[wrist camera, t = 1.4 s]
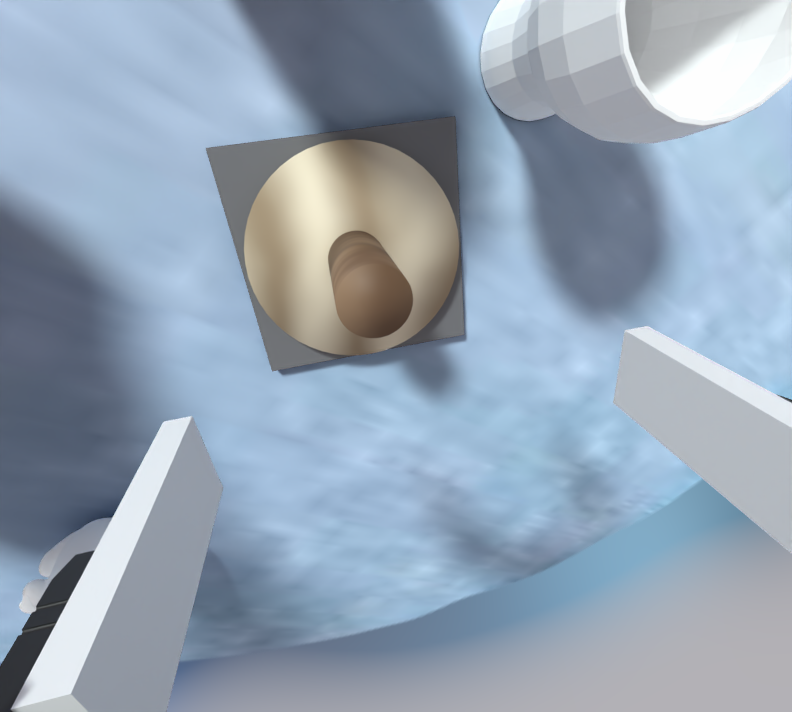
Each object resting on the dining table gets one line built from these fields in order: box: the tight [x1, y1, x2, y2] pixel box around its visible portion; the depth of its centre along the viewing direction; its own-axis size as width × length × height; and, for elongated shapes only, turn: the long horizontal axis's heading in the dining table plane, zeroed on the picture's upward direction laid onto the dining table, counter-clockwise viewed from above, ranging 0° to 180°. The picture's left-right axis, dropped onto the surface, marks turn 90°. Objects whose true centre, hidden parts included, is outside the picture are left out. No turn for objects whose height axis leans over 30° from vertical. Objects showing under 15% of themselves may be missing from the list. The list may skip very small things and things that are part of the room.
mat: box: [206, 116, 464, 371], centre depth 30 cm, size 16×16×1 cm
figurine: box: [19, 518, 112, 614], centre depth 34 cm, size 10×10×12 cm
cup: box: [480, 0, 792, 143], centre depth 21 cm, size 11×11×15 cm
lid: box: [244, 139, 459, 355], centre depth 26 cm, size 15×15×10 cm
